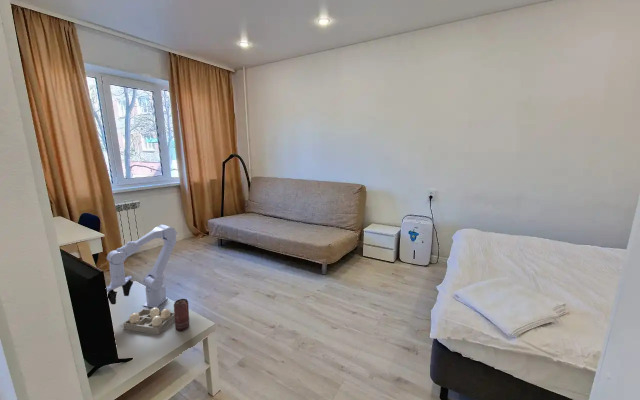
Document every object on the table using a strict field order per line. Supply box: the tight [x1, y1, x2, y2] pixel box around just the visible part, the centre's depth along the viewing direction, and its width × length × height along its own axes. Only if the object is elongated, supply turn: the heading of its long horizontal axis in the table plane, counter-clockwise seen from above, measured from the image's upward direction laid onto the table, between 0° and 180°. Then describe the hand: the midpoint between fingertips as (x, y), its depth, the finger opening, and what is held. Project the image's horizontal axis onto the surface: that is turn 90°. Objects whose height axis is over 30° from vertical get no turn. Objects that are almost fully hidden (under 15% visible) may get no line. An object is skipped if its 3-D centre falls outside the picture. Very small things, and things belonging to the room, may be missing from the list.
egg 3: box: [152, 316, 162, 328], centre depth 128 cm, size 4×4×6 cm
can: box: [173, 298, 190, 333], centre depth 129 cm, size 6×6×14 cm
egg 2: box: [150, 306, 160, 318], centre depth 134 cm, size 4×4×6 cm
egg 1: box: [128, 312, 140, 324], centre depth 129 cm, size 4×4×6 cm
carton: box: [122, 308, 175, 335], centre depth 132 cm, size 12×18×3 cm
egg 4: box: [161, 308, 171, 320], centre depth 134 cm, size 4×4×6 cm
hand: (120, 299), depth 135 cm, fingers open, 7 cm apart
